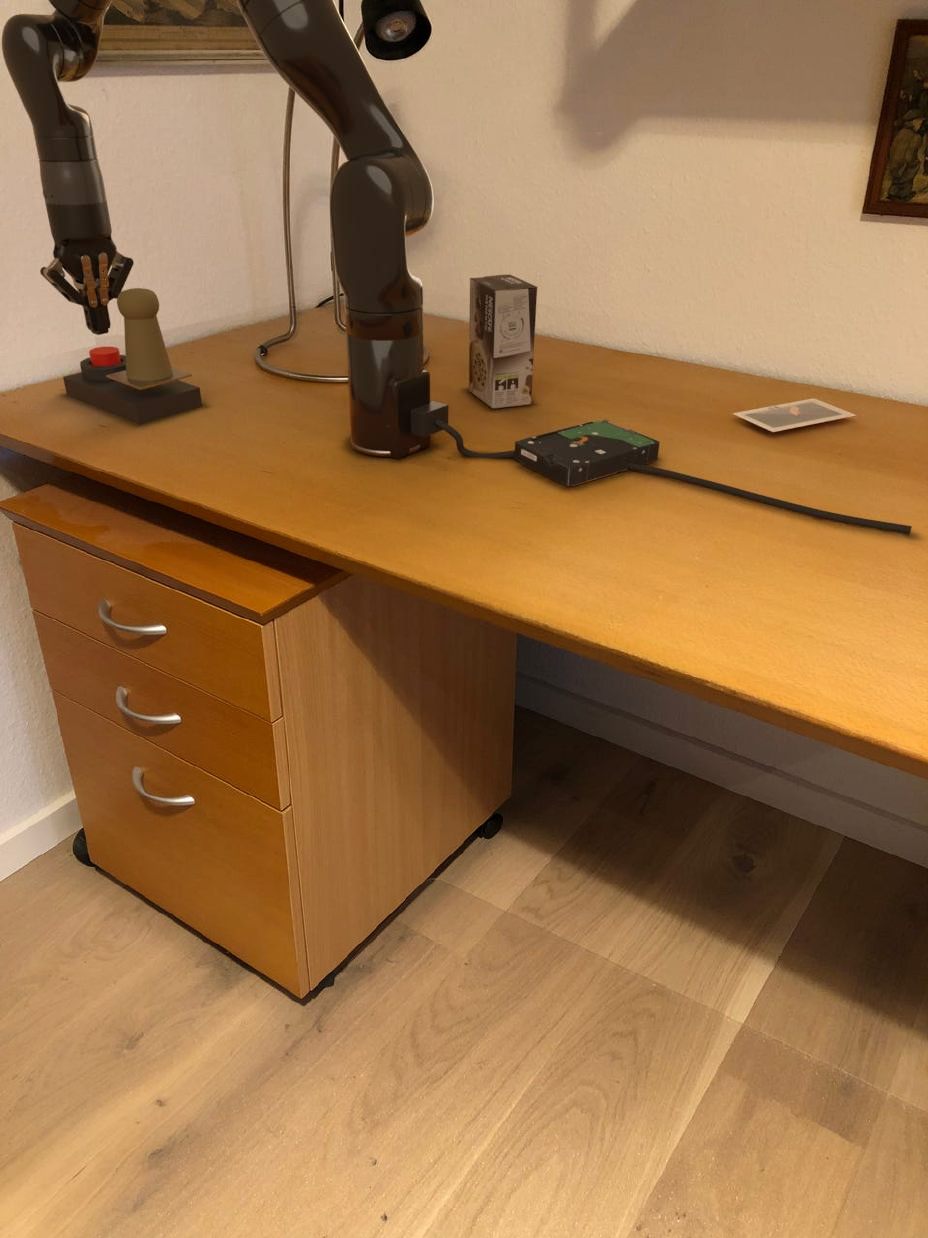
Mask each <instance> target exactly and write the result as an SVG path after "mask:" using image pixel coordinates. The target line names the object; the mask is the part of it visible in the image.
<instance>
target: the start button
mask: <svg viewBox="0 0 928 1238" xmlns="http://www.w3.org/2000/svg"><path fill="white" fill-rule="evenodd" d="M88 355H89V358H90V360H91V365H93V366H112V365H116V364H119V363H121V358H120V355H121V353H120V348H118V347H115V346H97V347H94V348H91V349H89V351H88Z"/></svg>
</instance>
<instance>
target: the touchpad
mask: <svg viewBox="0 0 928 1238" xmlns="http://www.w3.org/2000/svg"><path fill="white" fill-rule="evenodd" d="M731 414H732V415H734V416H736V417H738V418H740V419H743V420H746V421H747V422H749V423H751V424H754V425H755V426H758V427H761V428H763V429H764V430H767V431H768V432H769V431H770V432H771V433H775V432H781V431H785V430H790V429H795V428H799V427H800V428H801V427H806V426H810V425H815V424H820V423H825V422H831V421H836V420H840V419H846V418H851V417H855V416H857V415H856V413H852V412H849V411H847V410H844V409H842V408H840V407H837V406H834V405H832V404H830V403H827V402H825V401H822V400H819V399H817V398H814V397H813V398H808V399H803V400H796V401H791V402H786V403H782V404H776V405H771V406H770V405H769V406H764V407H759V408H753V409H749V410H745V411H744V410H743V411H738V412H732V413H731Z"/></svg>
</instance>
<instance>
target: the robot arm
mask: <svg viewBox="0 0 928 1238" xmlns="http://www.w3.org/2000/svg"><path fill="white" fill-rule="evenodd" d="M235 1H236V3H237V6H238V8H239V10H240V12H241V15H242V16H243V18H244V20H245V22H246V25H247V26H248V28H249V29H250V33H252V36H253V37H254V39H255V41H256V43H257V44H258V47H259V49H260V50H261V52H262V54H263V56H264V57H265V58H266V60H267V62H268V63H269V65H270V66H271V67H272V68H273V70H274V71H275V72H276V73H277V75H279V77H280V78H281V79H282V80H283V81H284V82H285V84H286V85H288V87H289V88H290V89H291V90H292V91H293V92H294V93H295V94H296V95H297V96H298V97H299V98H300V99H301V100H302V101H303V102H304V103H305V104H306V105H307V106H308V107H309V108H310V109H311V110H312V111H313V112H314V113H315V114H316V115H317V116H318V117H319V119H321V121H323V123H324V124H325V125H326V127H327V128H328V129H329V131H330V132H331V134H332V135H333V136H334V138H335V140H336V141H337V144H338V145H339V147H340V150H341V151H342V152H343V155H344V156H345V159H346V160H345V161H344V162H343V163H342V164H341V165H340V166H339V167H338V169H337V170H336V172H335V173H334V175H333V178H332V182H331V186H330V191H329V216H330V217H329V221H330V230H331V239H332V252H333V258H334V259H333V261H334V269H335V274H336V279H337V282H338V283H339V286H340V288H341V290H342V293H343V303H344V320H345V342H346V343H345V344H346V345H345V347H346V360H347V361H346V364H347V381H348V383H347V384H348V399H349V400H348V404H349V419H350V420H349V422H350V446H351V447H352V449H353V450H354V451H357V452H359V453H361V454H364V455H368V456H374V457H383V458H384V457H388V458H394V459H396V460H399V459H401V458H404V457H406V456H408V455H411V454H414V453H416V452H418V451H422V450H423V449H426V448H428V447H431V435H434V434H436V433H439V432H442V431H444V432H446V433H447V434H448V435H450V437H452V438H453V439H454V441H455V443H456V444H455V445H456V449H457V451H458V452H459V454H460V455H462V456H464V457H467V458H473V459H474V458H476V459H477V458H479V459H495V460H496V459H498V460H501V459H502V460H503V459H504V460H505V459H514V456H515V450H506V451H499V452H498V451H497V452H485V453H483V452H482V453H481V452H475V451H472V450H470V449H468V448H466V447H465V446H464V440H463V437H462V435H461V434H460V433H459V432H458V430H457V429H455V428H454V427H452V426H451V425H449V404H447V403H444V402H440V401H436V400H431V374H430V371H428V370H424V369H425V368H424V363H425V361H424V358H425V357H424V286H423V282H422V280H421V279H420V278H419V277H418V276H417V275H414V274H412V273H411V272H410V269H409V268H408V261H407V260H408V259H407V246H406V239H407V238H410V237H412V236H415V235H416V234H418V233H420V232H422V230H424V229H425V227H426V226H427V225H428V223H429V222H430V220H431V218H432V215H433V211H434V203H435V202H434V200H435V199H434V189H433V184H432V182H431V181H432V180H431V178H430V177H429V176H430V175H429V174H428V172H427V169H426V167H425V166H424V164H423V161H422V160H421V159H420V156H419V155H418V153H417V152H416V150H415V149H414V147H413V145H412V144H411V143H410V141H409V140H408V138H407V136H406V135H405V133H404V131H403V130H402V128H401V127H400V125H399V124H398V122H397V121H396V119H395V117H394V116H393V114H392V112H391V111H390V109H389V107H388V105H387V104H386V103H385V101H384V99H383V97H382V95H381V94H380V92H379V89H378V88H377V86H376V84H375V82H374V80H373V78H372V76H371V74H370V72H369V70H368V68H367V65H366V63H365V61H364V60H363V58H362V56H361V54H360V52H359V49H358V48H357V46H356V44H355V42H354V40H353V38H352V37H351V34H350V32H349V31H348V28H347V27H346V24H345V23H344V21H343V19H342V16H341V14H340V12H339V10H338V8H337V7H338V6H336V3H335V1H334V0H235ZM48 2H49V3H50V5H51V6H52V7H53V8H54V11H53V12H52V14H38V13H37V14H36V13H35V14H34V13H19V14H14V15H13V16H11V17H10V18H8V20H6V22H5V24H4V26H3V29H2V34H1V51H2V56H3V59H4V63H5V66H6V69H7V71H8V74H9V76H10V78H11V80H12V83H13V86H14V87H15V90H16V92H17V94H18V96H19V99H20V100H21V103H22V106H23V107H24V110H25V112H26V114H27V116H28V118H29V121H30V123H31V126H32V132H33V136H34V137H33V138H34V142H35V146H36V151H37V152H36V153H37V156H38V157H37V158H38V159H39V160H38V163H39V175H40V176H39V177H40V184H41V188H42V196H43V198H44V204H45V209H46V213H47V214H46V215H47V219H48V223H49V228H50V234H51V237H52V240H53V243H54V246H53V249H52V256H53V259H52V261H50V263H49V264H48V266H47V267H46V266H42V267H41V268H40V270H39V271H40V275H41V276H42V277H43V278H44V279H45V280H46V281H47V282H48V283H49V284H50V285H51V286H52V287H53V288H55V290H57V292H58V293H60V295H62V296H63V298H65V299H66V300H67V301H68V302H70V303H73V304H75V305H78V306H82V309H83V315H84V319H85V324H86V328H87V329H88V330H89V331H91V333H92V334H93V335H97V336H101V335H104V334H105V335H106V334H109V333H110V332H109V331H110V330H109V329H111V325H112V323H111V317H110V312H109V306H108V305H109V303H110V301H112V300H113V299H115V300H117V297H118V295H119V293H121V292H122V291H123V289H124V286H125V284H126V282H127V279H128V277H129V275H130V273H131V270H132V268H133V266H134V260H133V258H131V257H128V256H125V255H124V254H122V253H121V252H119V251H118V249H117V245H116V244H115V242H114V240H113V238H112V233H113V228H112V224H111V217H110V211H109V205H108V199H107V194H106V189H105V181H104V177H103V173H102V170H101V166H100V163H99V159H98V154H97V148H96V141H95V135H94V128H93V123H92V120H91V117H90V115H89V113H88V111H86V110H85V109H84V108H82V107H80V106H78V105H73V104H70V103H68V102H67V99H66V98H65V95H64V93H63V91H62V90H61V87H60V83H75V82H78V81H80V80H82V79H84V78H85V77H86V76H87V75H88V74H89V73H90V72H91V71H92V69H93V67H94V66H95V64H96V61H97V58H98V55H99V50H100V45H101V39H102V34H103V29H104V20H105V15H106V14H107V11H108V10H109V8H110V6H111V4H112V3H113V0H48ZM65 272H66V273H67V274H68V275H69V276H70V278H71V279H72V283H73V285H72V284H71V283H70V282H69V281H68V280H67V279H66V278H65V277H66V273H65ZM627 469H628V470H630V471H634V472H639V473H644V474H650V475H653V476H659V477H663V478H667V479H671V480H674V481H679V482H682V483H687V484H691V485H694V486H699V487H702V488H706V489H710V490H713V491H717V492H721V493H724V494H728V495H731V496H735V497H738V498H742V499H744V500H749V501H752V502H755V503H759V504H763V505H766V506H767V505H768V506H771V507H775V508H779V509H783V510H785V511H790V512H792V513H798V514H801V515H805V516H809V517H814V518H817V519H821V520H822V519H823V520H827V521H832V522H836V523H841V524H846V525H851V526H857V527H863V528H869V529H874V530H875V529H876V530H880V531H887V532H892V533H899V534H900V533H901V534H906V535H911V532H912V525H906V524H900V523H895V522H890V521H889V522H888V521H882V520H875V519H869V518H863V517H858V516H851V515H846V514H842V513H836V512H833V511H827V510H822V509H818V508H814V507H810V506H806V505H801V504H797V503H794V502H790V501H786V500H782V499H779V498H774V497H771V496H767V495H763V494H761V493H760V494H759V493H756V492H752V491H748V490H744V489H741V488H737V487H734V486H731V485H727V484H723V483H719V482H716V481H712V480H708V479H705V478H701V477H697V476H693V475H689V474H686V473H685V474H684V473H681V472H677V471H673V470H669V469H665V468H659V467H655V466H652V465H647V464H644V465H641V464H636V463H629V464H628V465H627Z"/></svg>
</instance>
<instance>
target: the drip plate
mask: <svg viewBox="0 0 928 1238" xmlns="http://www.w3.org/2000/svg"><path fill="white" fill-rule="evenodd" d="M171 368H172V371H173V373H172V375H170V376H169V377H166V378H163V379H158V380H151V381H138V380H132V379H129V378H128V377H127V375H126V370H125V371H121V372H117V373H113V374H109V375H106V377H107V378H110V379H113V380H115V381H118V382H121V383H123V384H126V385H129V386H131V387H134V388H137V389H140V390H142V389H146V388H150V387H153V386H157V385H161V384H165V383H168V382H172V381H176V380H179V381H180V380H183V379H187V378H190V377H192V376H193V375H192V373H189V372H187V371H185V370H181V369H177V368H175V367H172V366H171Z"/></svg>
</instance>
